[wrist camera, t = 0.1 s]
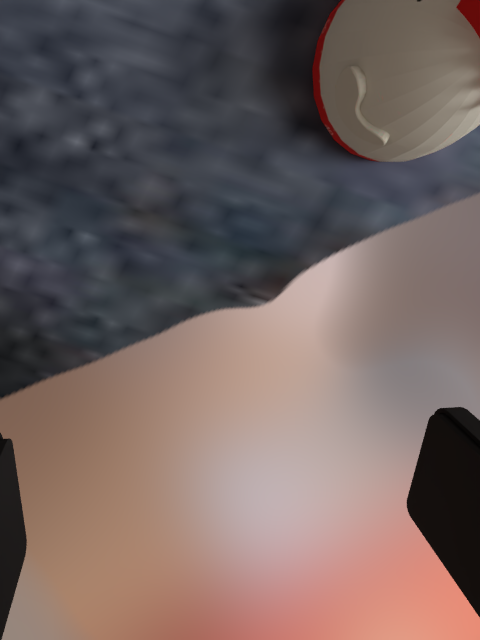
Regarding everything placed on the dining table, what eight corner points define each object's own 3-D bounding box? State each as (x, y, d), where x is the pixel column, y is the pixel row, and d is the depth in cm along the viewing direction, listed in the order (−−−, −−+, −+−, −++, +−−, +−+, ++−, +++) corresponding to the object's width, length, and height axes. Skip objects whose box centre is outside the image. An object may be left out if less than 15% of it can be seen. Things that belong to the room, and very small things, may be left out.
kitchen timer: (436, -70, 34) (630, -205, 20) (487, 103, 40) (665, 88, 26) (281, 37, 35) (369, -23, 21) (354, 191, 40) (460, 222, 27)
